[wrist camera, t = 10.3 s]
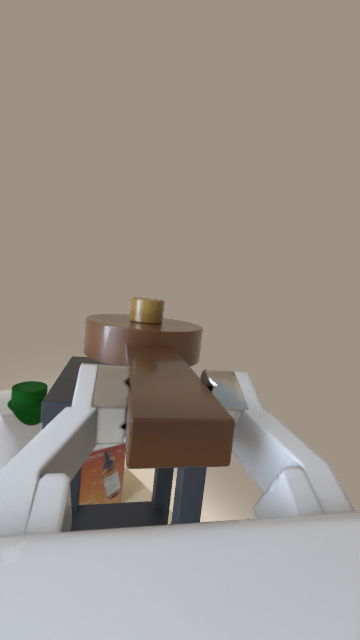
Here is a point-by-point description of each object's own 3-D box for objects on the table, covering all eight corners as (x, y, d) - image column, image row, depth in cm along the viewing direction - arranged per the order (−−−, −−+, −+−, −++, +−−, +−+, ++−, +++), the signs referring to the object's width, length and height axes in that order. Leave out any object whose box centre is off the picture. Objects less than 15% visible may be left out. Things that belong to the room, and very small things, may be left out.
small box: (68, 528, 40) (73, 456, 39) (57, 502, 44) (61, 437, 43) (121, 506, 45) (127, 442, 44) (106, 484, 49) (111, 426, 48)
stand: (178, 705, 24) (216, 405, 21) (21, 737, 21) (41, 401, 19) (159, 567, 36) (182, 362, 33) (56, 577, 33) (72, 356, 30)
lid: (312, 465, 7) (333, 335, 7) (15, 473, 6) (23, 310, 6) (185, 345, 22) (190, 301, 22) (90, 339, 21) (93, 291, 20)
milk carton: (-11, 565, 34) (-4, 400, 32) (-32, 518, 39) (-27, 377, 37) (62, 524, 40) (72, 386, 38) (34, 489, 46) (42, 368, 44)
